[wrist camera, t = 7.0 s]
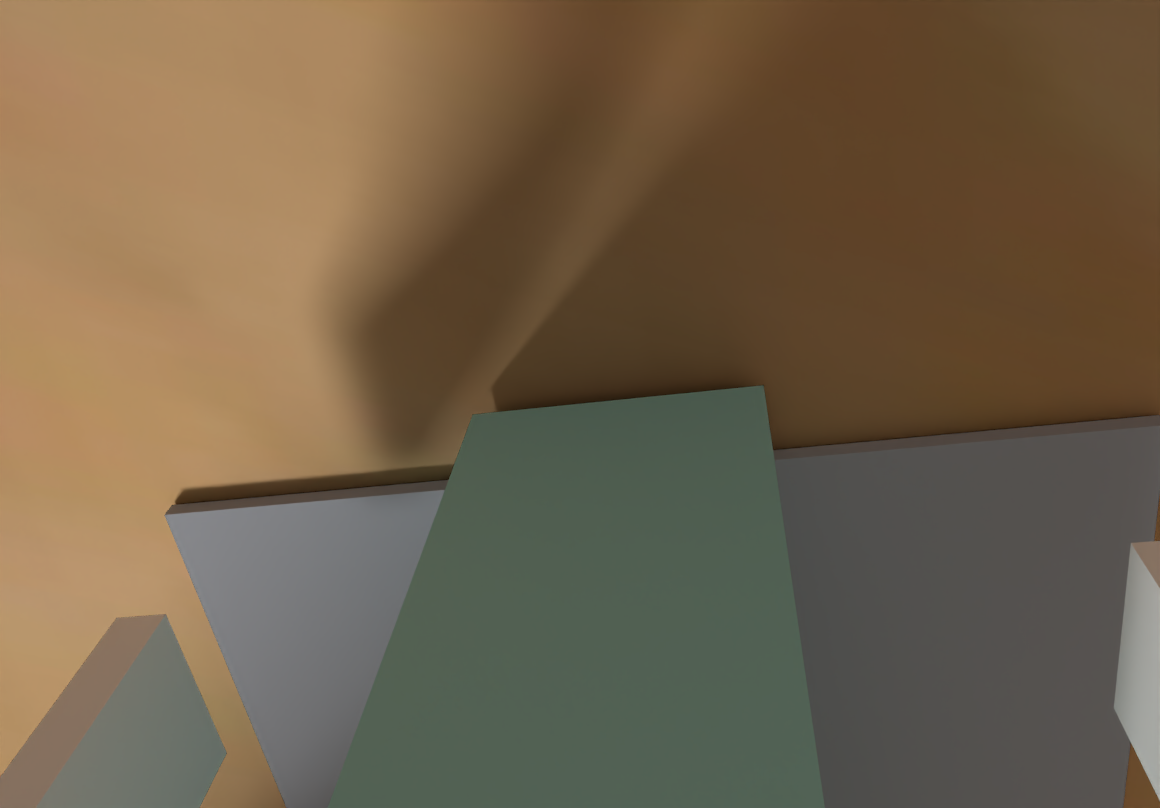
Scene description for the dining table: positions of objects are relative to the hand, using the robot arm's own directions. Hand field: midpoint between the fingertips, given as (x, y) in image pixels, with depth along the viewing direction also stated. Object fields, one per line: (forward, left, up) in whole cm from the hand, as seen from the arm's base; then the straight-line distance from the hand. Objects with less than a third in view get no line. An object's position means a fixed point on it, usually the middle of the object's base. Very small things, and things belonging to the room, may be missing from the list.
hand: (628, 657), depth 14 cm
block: (+5, 0, -3) cm, 6 cm away
